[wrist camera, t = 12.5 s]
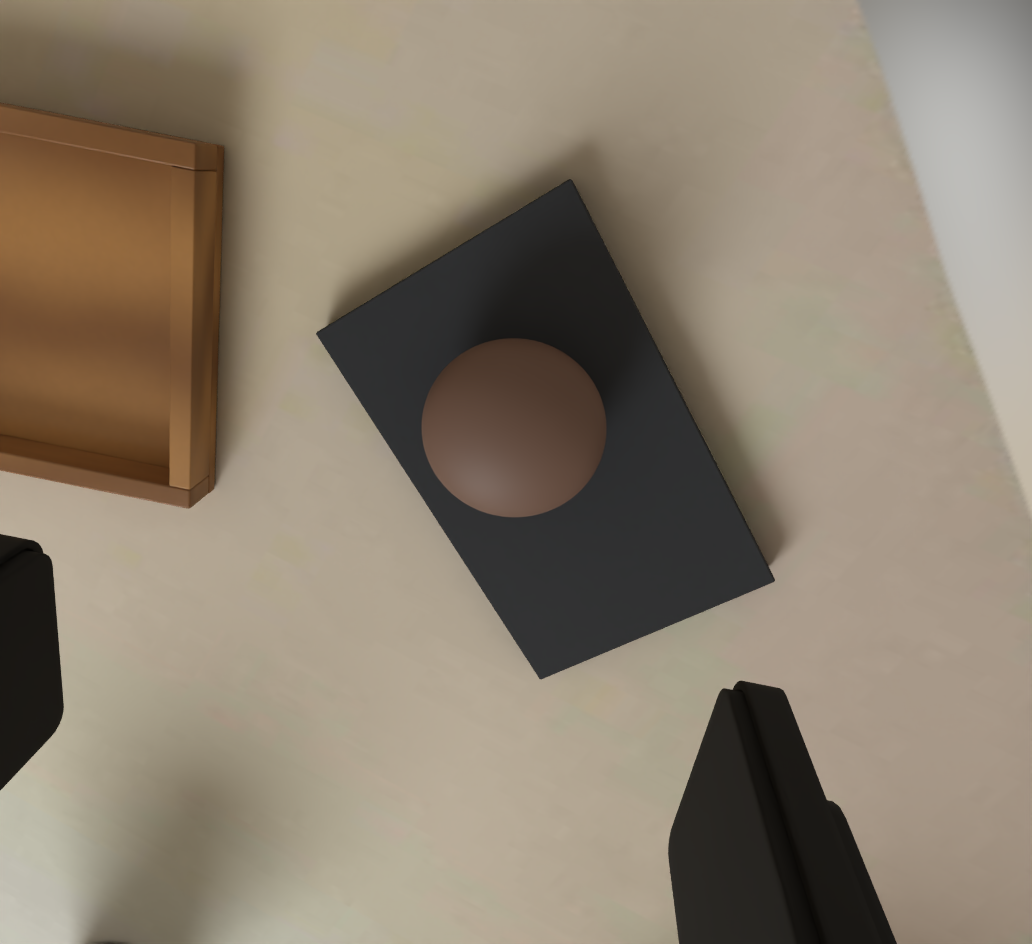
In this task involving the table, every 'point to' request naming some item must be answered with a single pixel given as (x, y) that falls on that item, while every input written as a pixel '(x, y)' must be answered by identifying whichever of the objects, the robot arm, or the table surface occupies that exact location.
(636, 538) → the mat
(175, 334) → the wooden compartment tray
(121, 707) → the table surface
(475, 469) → the brown rounded dome
